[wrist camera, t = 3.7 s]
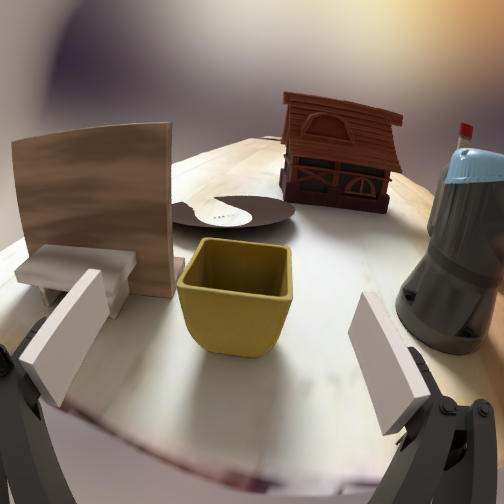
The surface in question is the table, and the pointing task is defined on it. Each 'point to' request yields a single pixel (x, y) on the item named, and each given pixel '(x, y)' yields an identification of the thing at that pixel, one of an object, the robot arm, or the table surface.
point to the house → (337, 153)
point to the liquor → (463, 142)
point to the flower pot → (236, 295)
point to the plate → (257, 206)
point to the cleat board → (98, 210)
